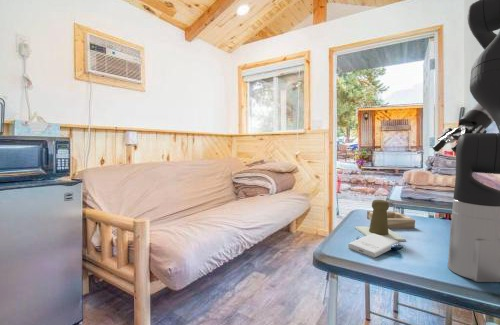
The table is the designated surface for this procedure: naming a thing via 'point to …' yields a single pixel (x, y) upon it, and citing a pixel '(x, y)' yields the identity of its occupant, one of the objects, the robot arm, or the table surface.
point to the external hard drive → (372, 245)
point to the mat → (391, 235)
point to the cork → (379, 217)
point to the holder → (396, 220)
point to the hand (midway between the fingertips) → (443, 150)
